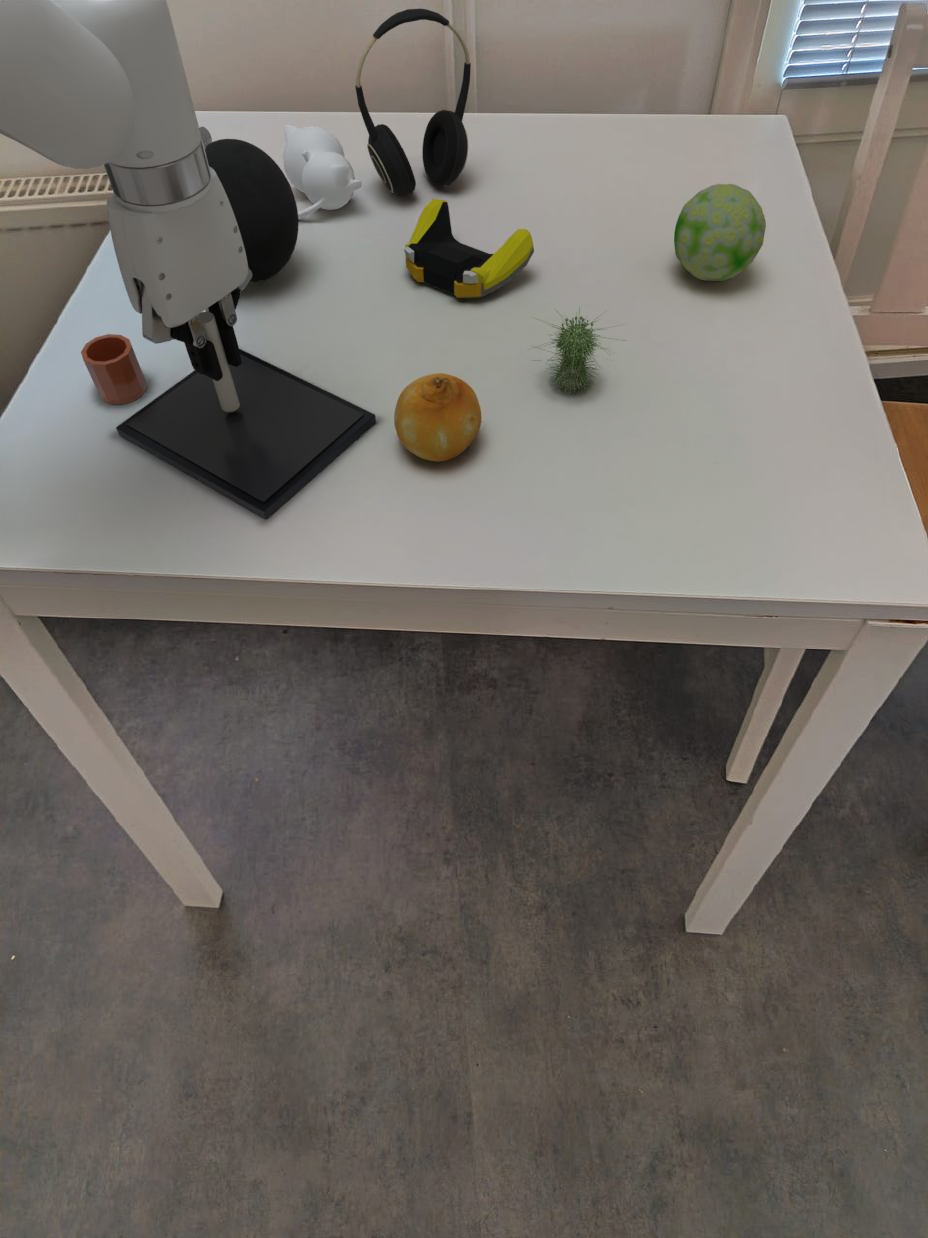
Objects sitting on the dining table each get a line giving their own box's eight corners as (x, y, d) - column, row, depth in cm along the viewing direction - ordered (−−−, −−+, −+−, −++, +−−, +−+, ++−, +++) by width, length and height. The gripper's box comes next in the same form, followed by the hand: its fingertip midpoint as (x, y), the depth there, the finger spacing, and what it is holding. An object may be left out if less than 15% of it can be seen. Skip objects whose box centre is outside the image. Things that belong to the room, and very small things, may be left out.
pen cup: (121, 410, 86) (103, 370, 82) (90, 393, 88) (71, 352, 84) (156, 385, 88) (141, 344, 84) (125, 368, 90) (108, 328, 86)
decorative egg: (329, 266, 101) (308, 134, 89) (260, 318, 95) (228, 185, 83) (251, 235, 105) (222, 105, 93) (180, 284, 99) (139, 152, 87)
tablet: (266, 519, 77) (263, 510, 76) (118, 435, 84) (114, 425, 83) (376, 422, 84) (375, 412, 83) (232, 351, 91) (229, 342, 90)
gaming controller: (435, 234, 104) (385, 273, 100) (433, 190, 100) (381, 228, 95) (538, 273, 99) (490, 315, 94) (541, 228, 95) (491, 270, 90)
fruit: (470, 470, 77) (471, 379, 74) (385, 466, 78) (381, 377, 75) (486, 452, 84) (487, 369, 81) (407, 448, 86) (405, 366, 83)
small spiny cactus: (636, 421, 84) (649, 358, 78) (516, 424, 84) (519, 361, 78) (621, 346, 91) (632, 283, 85) (510, 349, 91) (512, 286, 85)
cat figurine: (339, 141, 99) (303, 97, 105) (276, 207, 102) (244, 160, 108) (381, 192, 106) (345, 149, 112) (321, 253, 109) (289, 207, 115)
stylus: (232, 420, 83) (203, 325, 74) (219, 413, 84) (189, 319, 75) (245, 409, 84) (218, 315, 75) (232, 403, 85) (204, 309, 76)
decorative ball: (769, 283, 97) (796, 198, 89) (699, 308, 95) (719, 222, 87) (717, 242, 102) (737, 157, 94) (648, 264, 100) (663, 179, 92)
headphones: (356, 185, 112) (335, 8, 95) (457, 160, 115) (454, -14, 99) (379, 216, 107) (362, 35, 91) (484, 189, 111) (486, 11, 94)
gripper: (199, 116, 70) (248, 312, 85) (43, 199, 62) (127, 398, 77) (265, 140, 67) (304, 338, 82) (111, 230, 60) (185, 429, 75)
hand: (218, 366), depth 79 cm, fingers closed on stylus, 1 cm apart
